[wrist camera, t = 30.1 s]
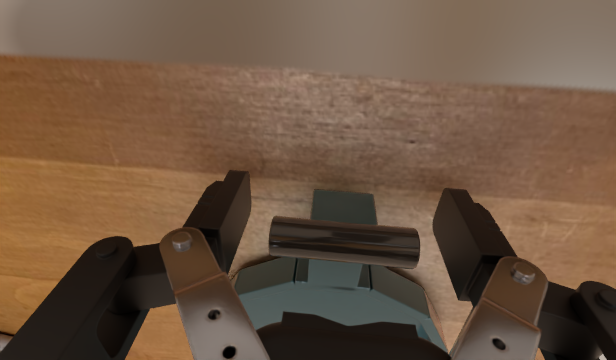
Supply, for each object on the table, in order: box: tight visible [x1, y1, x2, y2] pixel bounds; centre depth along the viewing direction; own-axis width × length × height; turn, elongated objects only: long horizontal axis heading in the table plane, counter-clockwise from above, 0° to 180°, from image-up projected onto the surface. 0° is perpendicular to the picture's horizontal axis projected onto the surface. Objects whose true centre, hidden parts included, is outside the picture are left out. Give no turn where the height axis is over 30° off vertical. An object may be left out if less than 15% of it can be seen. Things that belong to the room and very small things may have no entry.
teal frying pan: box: [231, 189, 448, 353], centre depth 17 cm, size 19×14×4 cm
